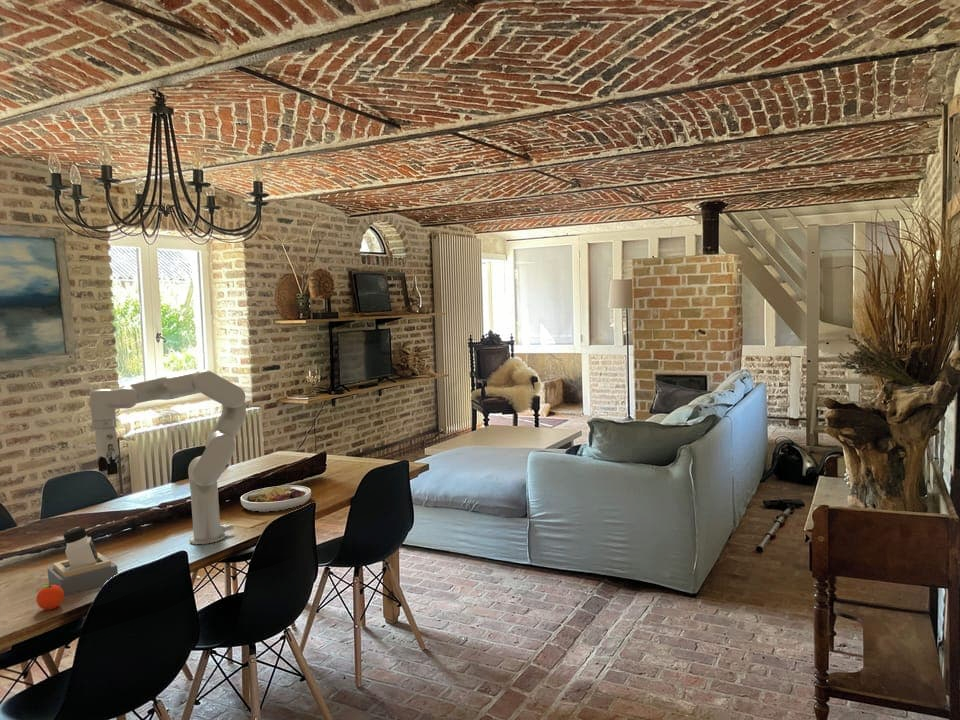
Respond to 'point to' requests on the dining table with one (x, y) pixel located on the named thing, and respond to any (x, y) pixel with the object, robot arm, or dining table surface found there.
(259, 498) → the bowl
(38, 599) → the clementine
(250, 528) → the dining table surface
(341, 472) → the dining table surface
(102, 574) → the block
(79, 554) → the medicine bottle
